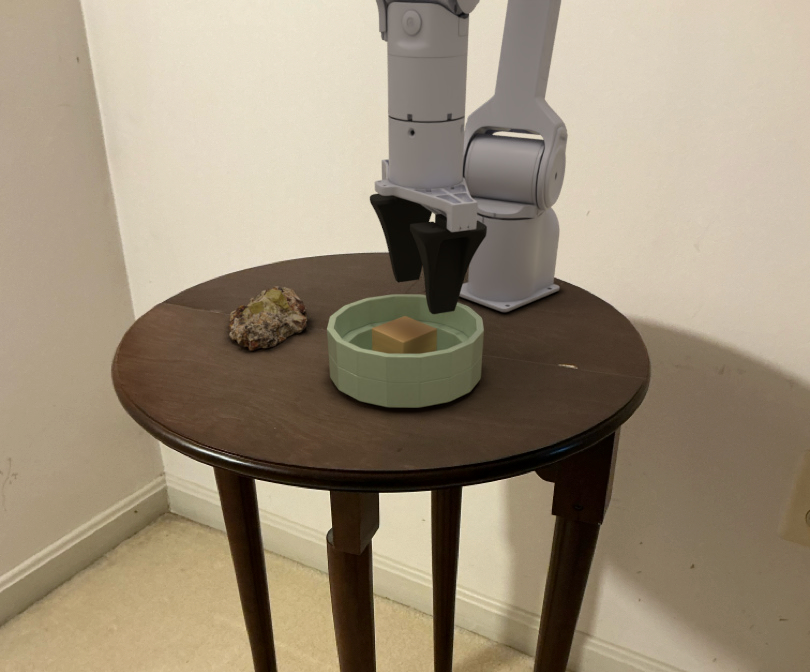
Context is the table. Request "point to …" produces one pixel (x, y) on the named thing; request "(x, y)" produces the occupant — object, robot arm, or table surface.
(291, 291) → the mineral rock
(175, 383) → the table surface
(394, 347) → the block
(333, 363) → the bowl
